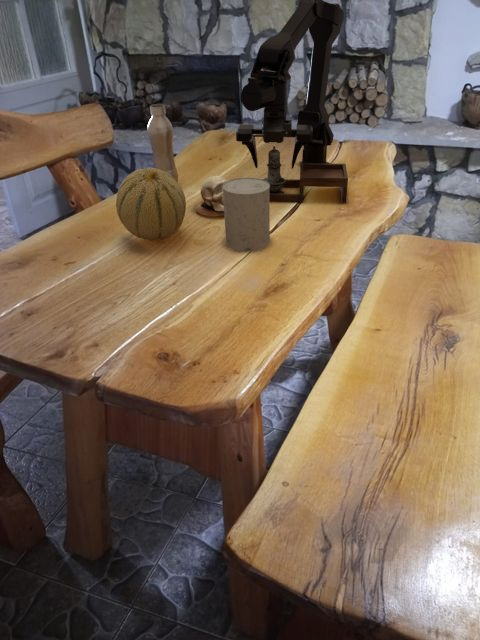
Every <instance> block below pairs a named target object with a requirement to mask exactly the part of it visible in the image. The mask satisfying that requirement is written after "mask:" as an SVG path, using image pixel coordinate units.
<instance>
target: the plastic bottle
mask: <svg viewBox="0 0 480 640" xmlns="http://www.w3.org/2000/svg"><path fill="white" fill-rule="evenodd" d="M149 108H150V109H149V110H150V115H151V118H150V119H149V121H148V124H147V127H146V128H147V130H146V131H147V135H148V138H149V142H150V146H151V151H152V153H151V154H152V160H153V161H152V162H153V168H156V169H159V170H162V171H165V172H166V173H168V174H170V175H171V176H172V177H173V178H174V179H175V180H176V181H177V183H178V182H179V174H178V170H177V167H176V163H175V162H176V161H175V156H174V145H173V144H174V143H173V142H174V127H173V124H172V123H171V121H170V119H169V118H168V117H167V116H166V114H167V110H166V105H165V104H163V103H155V104H151V105H150V106H149Z"/></svg>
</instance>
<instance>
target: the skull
mask: <svg viewBox="0 0 480 640" xmlns="http://www.w3.org/2000/svg"><path fill="white" fill-rule="evenodd" d="M227 181H228V180H227V179H226V178H225V177H224V176H222V175H212V176H210V177H209V178H207V179H206V180H204V182H203V184H202V186H201V188H200V196H201V198H202V201H203V202H201V203H199V204H197V205H196V207H195V208H194V210H195V212H196V213H197V214H200V215H204V216H209V217H217V216H218V217H219V216H224V198H223V188H222V186H223V184H224V183H225V182H227Z"/></svg>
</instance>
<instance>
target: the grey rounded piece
mask: <svg viewBox="0 0 480 640" xmlns="http://www.w3.org/2000/svg"><path fill="white" fill-rule="evenodd" d="M267 153H268V154H267V155H268V158H267V159H268V161H267V162H268V163H267V164H266V167H267V176H266V177H264V178H262V179H263V180H265V181H267V182H268V183H269V184H270V188H269V193H285V192H284V191H283V189H284V188H283V187H284V183H285V182H286V180H285V179H286V178H284V177H282V175H281V167H282V163H281V151H280V150H278V149H276V146H275V145H273V147H272V149H270V150H269V151H268V152H267Z"/></svg>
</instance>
